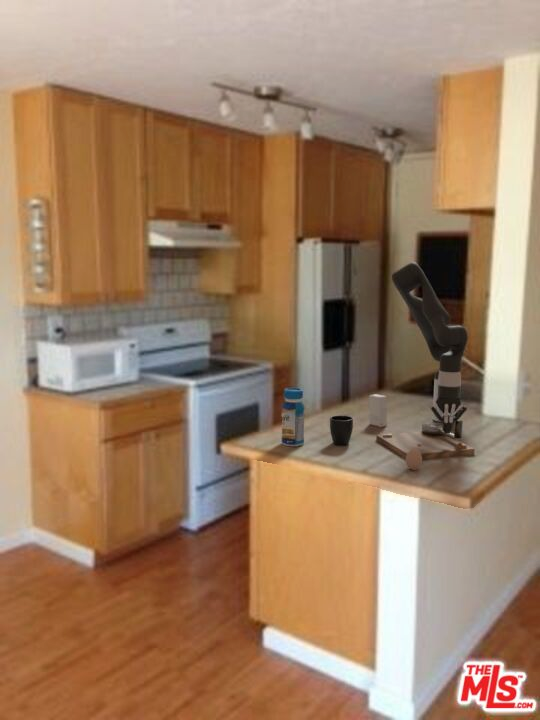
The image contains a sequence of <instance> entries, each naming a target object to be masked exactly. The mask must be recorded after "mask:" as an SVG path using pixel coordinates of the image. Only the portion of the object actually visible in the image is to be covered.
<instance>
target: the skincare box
mask: <svg viewBox="0 0 540 720" xmlns="http://www.w3.org/2000/svg"><path fill="white" fill-rule="evenodd" d="M368 404H369V411H368V412H369V415H368V417H369V421H368V423H369V425H372V426H376V427H379V428H383V427H386V426H387V425H388V396H386V395H382V394H377V393H375V394H369V402H368Z"/></svg>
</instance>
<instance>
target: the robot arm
mask: <svg viewBox="0 0 540 720" xmlns="http://www.w3.org/2000/svg"><path fill="white" fill-rule="evenodd" d="M391 281H392V283H393V285H394V286H395V288H396V290H397V291H398V294H399V295H400V296H401V297H402V299H403V300H404V302H405V304H406V306H407V307H408V310H409V311H410V313H411V315H412V317H413V320H414V322H415V323H416V325H417V327H418V328H419V330H420V332H421V334H422V336H423V339H424V340H425V342H426V345H427V347H428V350H429V352H430V355H431V356H432V359H433V360H434V361H437V362H439V369H438V370H436V371H435V372H434V380H433V381H434V385H433V405H429V410H430V411H431V412H432V421H435V422H437V423H442V424H443V428H442V429H443V431H444V432H445V433H452V430H453V423H455V421H457V420H460V418H461V417H462V416H463V415H464V413H465V412H466V411H467V409H468V408H467V407H466V406H465V405H464V404H462V401H461V385H462V383H461V382H462V375H461V371H462V369H461V368H462V359H463V356H464V352H465V349H466V346H467V343H468V339H469V337H468V332H467V330H466V328H465V327H464V326H462V325H450V322H451V318H452V317H451V316H450V314H449V312H448V311H447V310H446V309H445V307H444V305H443V304H442V302H440V300H439V298H438V296H437V295H436V292H435V290H434V289H433V287H432V284H431V283H430V280H429V279H428V278H427V276H426V274H425V272H424V270H423V269H422V268H421V266H420V265H419V264H418V263H417V262H416V261H411V262H408V264H405V265H404V266H402V267H401V268H399V269H398V270H396V271H394V272H393V273H392V274H391ZM420 286H421V289H422V297H418V296H416V295H414V294H412V293H411V292H412V291H414V290H415V289H417V288H419V287H420Z"/></svg>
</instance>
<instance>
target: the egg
mask: <svg viewBox="0 0 540 720" xmlns="http://www.w3.org/2000/svg"><path fill="white" fill-rule="evenodd" d="M405 463H406V464H405V465H406V466H407V468H408V469H409V470H412V471H417V470H419V469H420V468H421V466H422V465H423V464H422V463H423V459H422V456H421V454H420V452H419V451H418V450H416V449H412V450H410V451H409V452H408V454H407V456H406V459H405Z"/></svg>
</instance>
